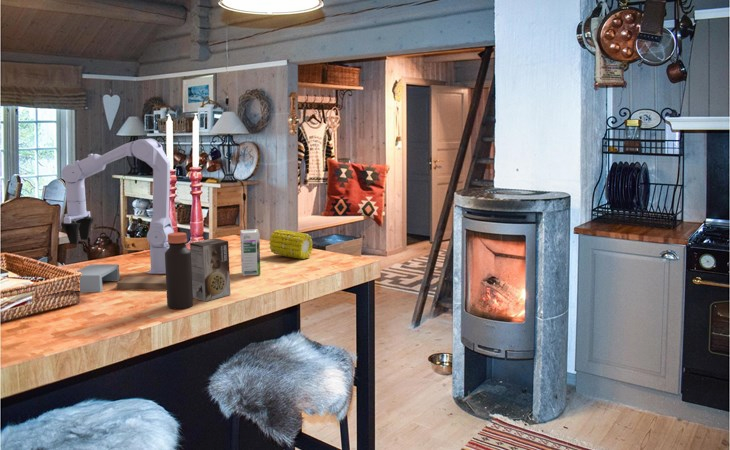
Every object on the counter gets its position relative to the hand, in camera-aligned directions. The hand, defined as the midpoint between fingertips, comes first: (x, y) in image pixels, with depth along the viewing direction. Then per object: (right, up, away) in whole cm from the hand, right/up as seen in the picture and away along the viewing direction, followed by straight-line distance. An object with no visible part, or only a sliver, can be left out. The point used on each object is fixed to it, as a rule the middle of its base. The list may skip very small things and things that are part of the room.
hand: (79, 241), depth 216 cm
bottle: (+44, -17, -38) cm, 61 cm away
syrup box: (+57, -11, -1) cm, 58 cm away
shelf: (+13, -13, -17) cm, 25 cm away
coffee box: (+51, -15, -29) cm, 60 cm away
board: (+29, -14, -17) cm, 36 cm away
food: (+68, -7, +24) cm, 72 cm away
